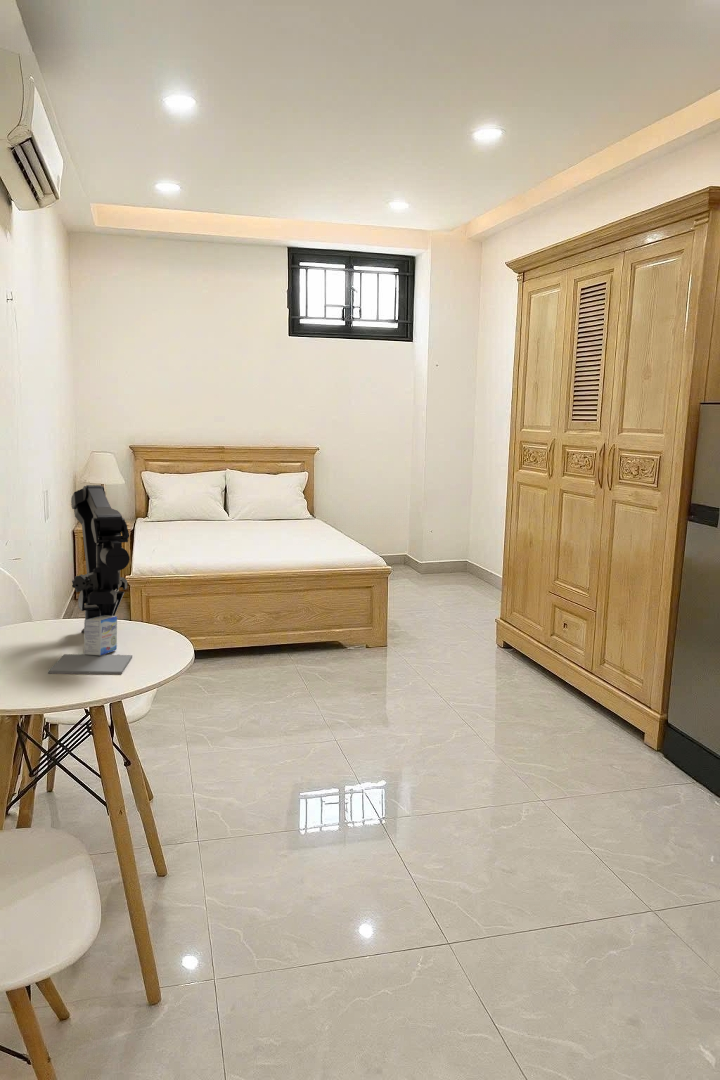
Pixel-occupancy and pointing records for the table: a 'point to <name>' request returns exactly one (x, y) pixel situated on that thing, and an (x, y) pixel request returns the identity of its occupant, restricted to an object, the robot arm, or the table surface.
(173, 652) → the table surface
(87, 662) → the mat
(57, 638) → the table surface
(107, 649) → the medicine box
